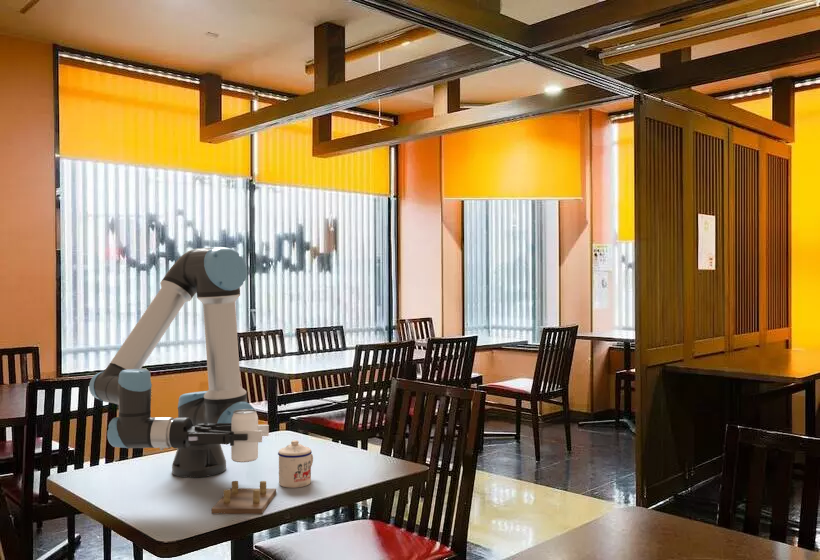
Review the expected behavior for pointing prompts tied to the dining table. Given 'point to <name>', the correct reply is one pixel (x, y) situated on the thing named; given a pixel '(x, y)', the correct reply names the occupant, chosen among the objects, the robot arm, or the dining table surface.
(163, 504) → the dining table surface
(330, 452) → the dining table surface
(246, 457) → the can
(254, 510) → the pin tray
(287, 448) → the teacup with lid
